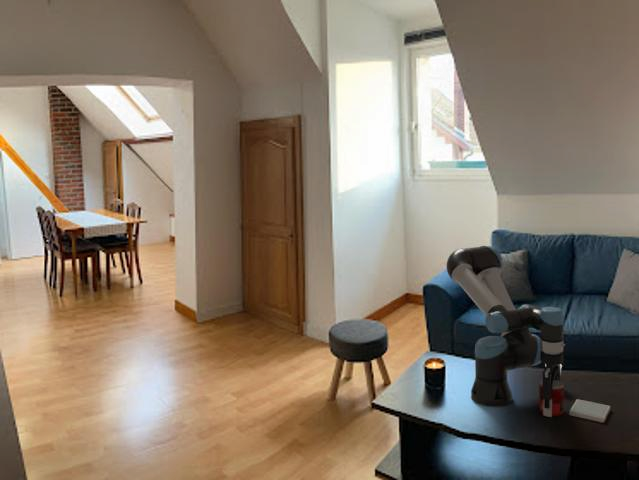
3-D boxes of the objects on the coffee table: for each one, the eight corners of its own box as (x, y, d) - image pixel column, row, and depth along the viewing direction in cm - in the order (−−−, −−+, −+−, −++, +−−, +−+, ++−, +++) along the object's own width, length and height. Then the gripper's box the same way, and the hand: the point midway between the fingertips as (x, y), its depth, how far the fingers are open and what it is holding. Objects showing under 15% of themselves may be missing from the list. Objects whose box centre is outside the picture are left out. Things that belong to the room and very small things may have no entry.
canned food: (565, 417, 192) (566, 387, 190) (541, 416, 193) (541, 387, 192) (560, 407, 199) (560, 378, 197) (537, 406, 201) (537, 378, 199)
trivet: (569, 415, 193) (569, 410, 193) (576, 402, 201) (576, 398, 201) (603, 422, 186) (603, 418, 186) (610, 409, 195) (610, 405, 194)
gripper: (554, 363, 182) (554, 425, 185) (570, 343, 199) (569, 400, 202) (531, 359, 186) (531, 420, 190) (549, 339, 203) (548, 396, 207)
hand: (551, 410), depth 196 cm, fingers open, 9 cm apart
